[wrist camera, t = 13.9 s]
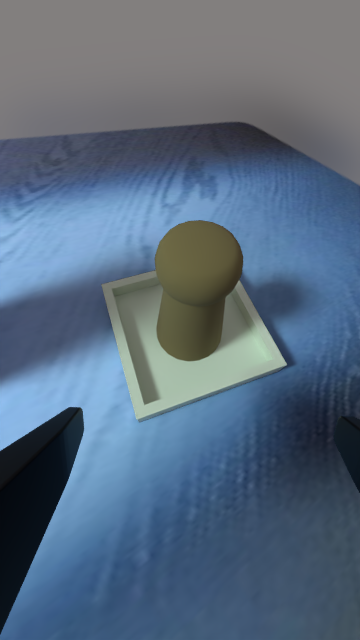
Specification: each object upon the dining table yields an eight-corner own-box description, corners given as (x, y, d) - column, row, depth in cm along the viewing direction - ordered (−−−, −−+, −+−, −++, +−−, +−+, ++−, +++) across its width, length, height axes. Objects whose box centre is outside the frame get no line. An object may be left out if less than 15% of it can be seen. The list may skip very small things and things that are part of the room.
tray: (278, 370, 22) (287, 364, 21) (139, 422, 20) (136, 419, 19) (220, 263, 28) (223, 252, 26) (105, 294, 26) (101, 284, 24)
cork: (197, 291, 25) (212, 191, 16) (235, 339, 23) (281, 255, 13) (143, 321, 24) (124, 228, 14) (179, 374, 22) (186, 309, 12)
